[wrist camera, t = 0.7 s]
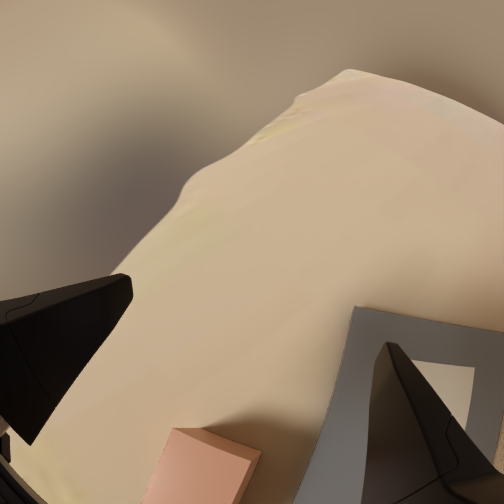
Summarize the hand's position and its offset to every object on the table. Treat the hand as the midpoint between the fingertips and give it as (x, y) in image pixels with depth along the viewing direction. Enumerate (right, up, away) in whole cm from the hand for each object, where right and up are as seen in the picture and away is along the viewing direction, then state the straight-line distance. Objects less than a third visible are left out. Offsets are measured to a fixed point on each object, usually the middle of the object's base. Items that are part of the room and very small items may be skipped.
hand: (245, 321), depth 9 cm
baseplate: (+13, -10, +6) cm, 18 cm away
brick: (-3, -14, +6) cm, 16 cm away
